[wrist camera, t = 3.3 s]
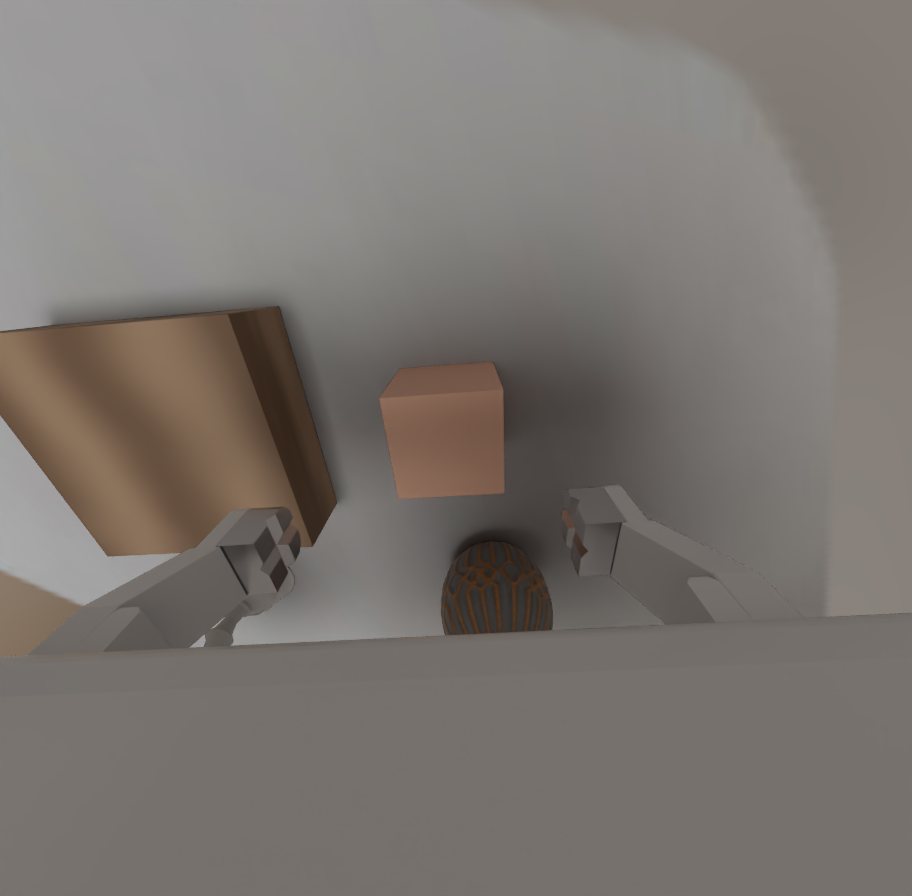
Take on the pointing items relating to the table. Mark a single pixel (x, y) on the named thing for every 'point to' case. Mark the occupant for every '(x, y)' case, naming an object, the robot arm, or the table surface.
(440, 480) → the block
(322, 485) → the board
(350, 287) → the table surface
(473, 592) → the vase
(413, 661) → the robot arm
